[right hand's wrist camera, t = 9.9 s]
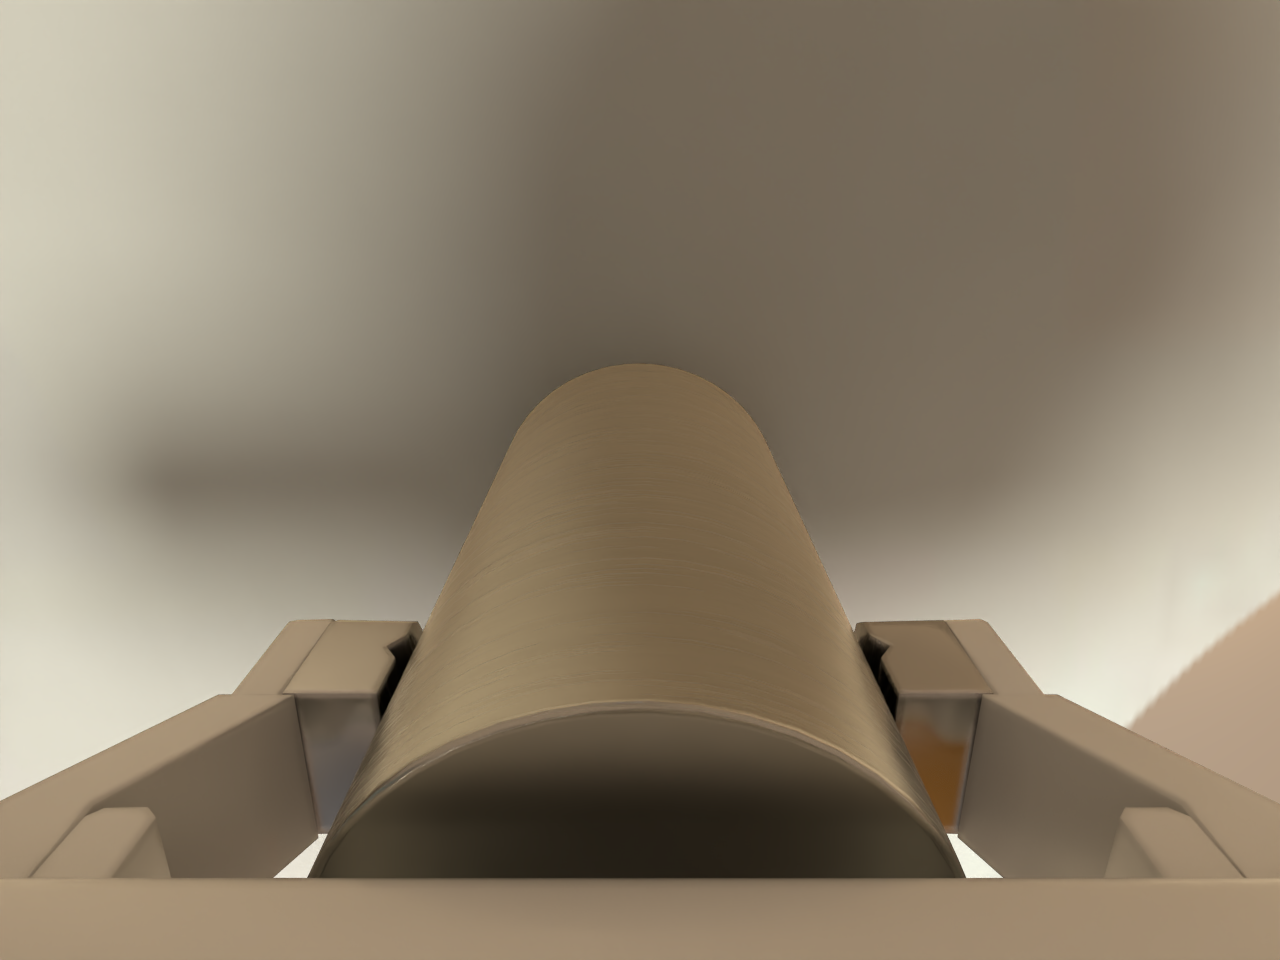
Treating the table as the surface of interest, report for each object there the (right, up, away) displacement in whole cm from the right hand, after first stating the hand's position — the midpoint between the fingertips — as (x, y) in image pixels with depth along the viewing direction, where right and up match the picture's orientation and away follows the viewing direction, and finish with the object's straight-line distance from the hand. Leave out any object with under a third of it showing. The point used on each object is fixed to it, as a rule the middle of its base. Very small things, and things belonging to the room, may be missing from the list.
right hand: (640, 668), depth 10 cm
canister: (0, +2, +6) cm, 6 cm away
